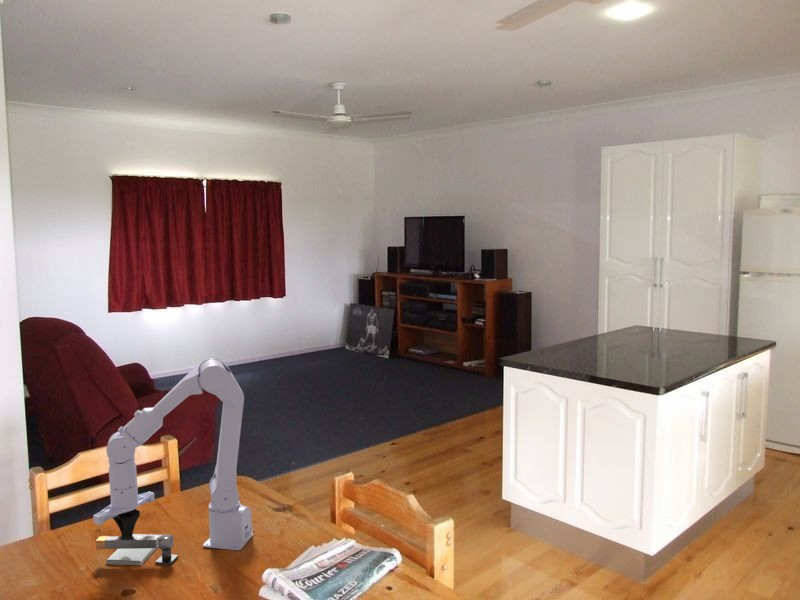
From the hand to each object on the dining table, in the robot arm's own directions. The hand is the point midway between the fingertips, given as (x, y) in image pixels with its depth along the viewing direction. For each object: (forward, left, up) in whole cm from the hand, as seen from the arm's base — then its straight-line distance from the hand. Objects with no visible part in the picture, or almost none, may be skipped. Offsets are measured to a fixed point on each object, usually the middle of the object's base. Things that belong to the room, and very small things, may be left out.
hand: (127, 541), depth 148 cm
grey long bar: (-3, +2, 0) cm, 4 cm away
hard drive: (0, -3, -4) cm, 5 cm away
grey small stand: (-10, 0, -4) cm, 10 cm away
